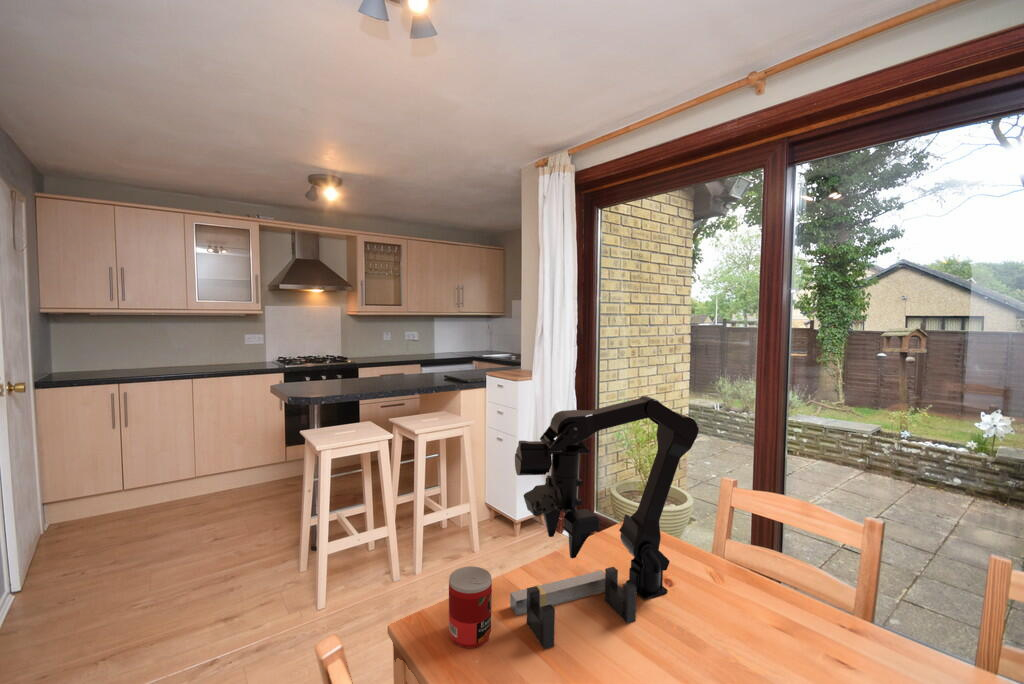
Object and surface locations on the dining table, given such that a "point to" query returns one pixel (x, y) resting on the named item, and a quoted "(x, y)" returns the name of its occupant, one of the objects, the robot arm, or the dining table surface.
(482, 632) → the canned food
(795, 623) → the dining table surface
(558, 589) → the grey metal bar
